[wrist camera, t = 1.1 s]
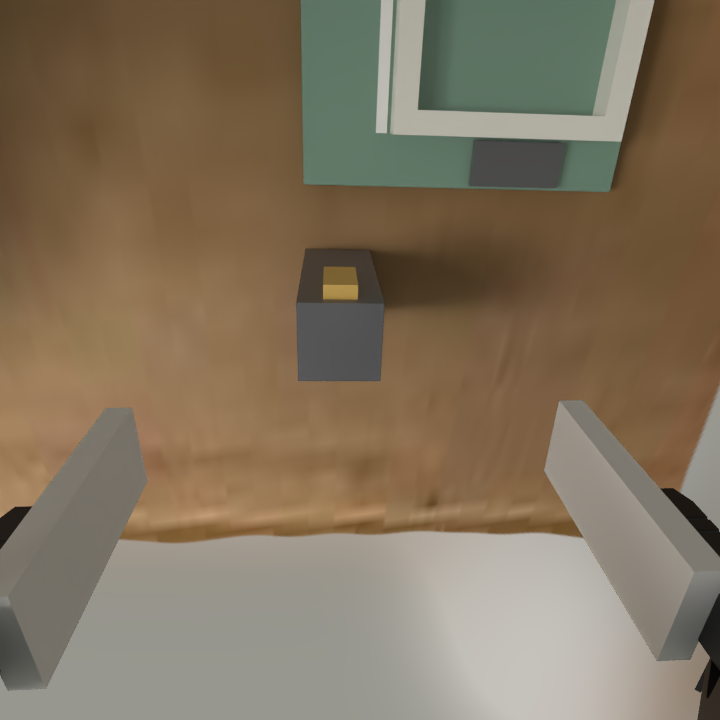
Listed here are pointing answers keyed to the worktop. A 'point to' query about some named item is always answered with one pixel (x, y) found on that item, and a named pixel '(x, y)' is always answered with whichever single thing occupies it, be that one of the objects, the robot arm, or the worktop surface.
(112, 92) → the worktop surface
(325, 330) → the plug
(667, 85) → the worktop surface
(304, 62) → the board
